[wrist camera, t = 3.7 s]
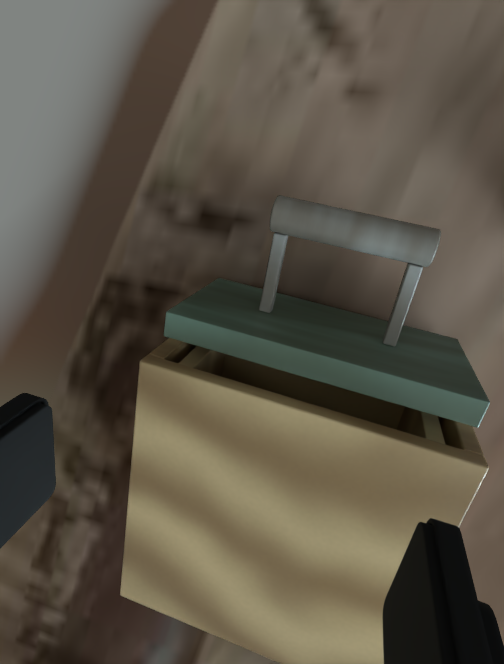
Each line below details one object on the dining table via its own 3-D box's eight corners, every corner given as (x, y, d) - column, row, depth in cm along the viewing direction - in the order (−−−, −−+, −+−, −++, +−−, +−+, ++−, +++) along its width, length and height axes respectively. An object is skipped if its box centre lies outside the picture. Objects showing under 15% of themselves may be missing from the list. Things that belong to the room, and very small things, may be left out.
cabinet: (209, 305, 26) (139, 360, 18) (451, 371, 23) (490, 468, 16) (181, 494, 32) (119, 595, 24) (370, 563, 29) (370, 702, 22)
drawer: (233, 180, 22) (179, 180, 16) (500, 236, 20) (557, 263, 13) (188, 470, 30) (140, 547, 24) (376, 536, 27) (376, 640, 21)
